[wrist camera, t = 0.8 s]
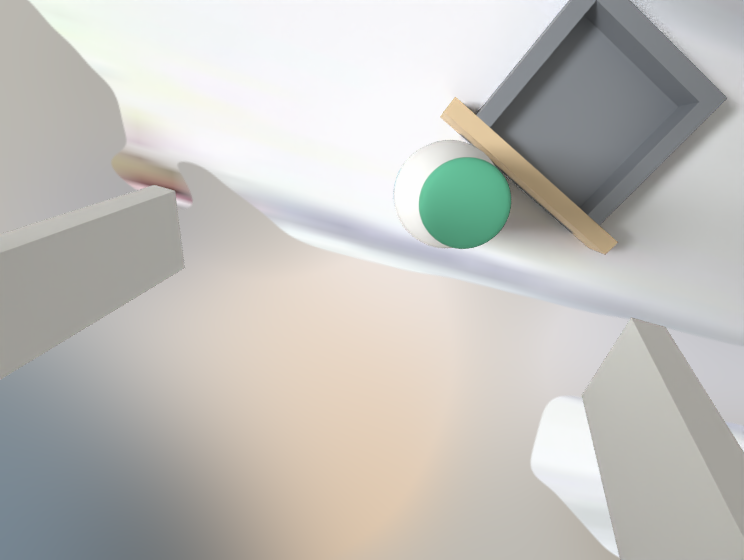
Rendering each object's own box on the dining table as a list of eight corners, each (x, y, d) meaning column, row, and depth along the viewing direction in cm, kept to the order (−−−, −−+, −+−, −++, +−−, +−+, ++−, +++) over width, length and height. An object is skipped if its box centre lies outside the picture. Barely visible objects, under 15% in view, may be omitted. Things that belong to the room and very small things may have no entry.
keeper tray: (440, 116, 36) (443, 111, 33) (557, -32, 32) (574, -55, 29) (589, 248, 38) (605, 254, 35) (715, 123, 34) (747, 118, 31)
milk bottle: (407, 140, 37) (413, 101, 18) (483, 161, 37) (572, 146, 18) (386, 216, 39) (371, 257, 20) (458, 236, 39) (512, 296, 20)
